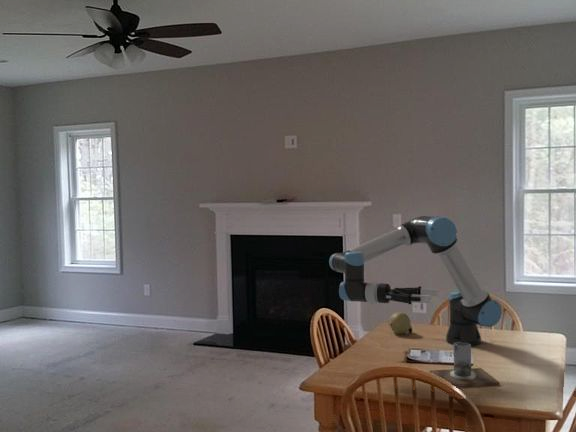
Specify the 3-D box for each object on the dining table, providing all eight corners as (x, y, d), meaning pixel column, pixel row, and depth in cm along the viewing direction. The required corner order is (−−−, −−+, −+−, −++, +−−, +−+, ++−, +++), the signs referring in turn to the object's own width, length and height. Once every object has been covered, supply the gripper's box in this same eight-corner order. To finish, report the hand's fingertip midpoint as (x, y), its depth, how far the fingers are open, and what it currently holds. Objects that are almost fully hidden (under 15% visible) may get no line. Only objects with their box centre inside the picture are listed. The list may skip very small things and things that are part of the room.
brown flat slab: (480, 371, 209) (480, 365, 209) (499, 385, 193) (499, 379, 193) (429, 373, 208) (429, 368, 208) (443, 388, 192) (443, 382, 192)
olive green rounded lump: (402, 343, 264) (419, 328, 262) (385, 325, 264) (401, 310, 262) (399, 337, 273) (415, 323, 272) (383, 319, 273) (399, 305, 272)
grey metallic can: (467, 370, 204) (467, 340, 203) (473, 376, 198) (473, 344, 197) (451, 371, 203) (451, 341, 203) (457, 376, 197) (457, 345, 197)
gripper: (388, 296, 225) (441, 299, 215) (368, 309, 202) (426, 313, 193) (387, 278, 224) (440, 280, 215) (368, 288, 202) (426, 291, 193)
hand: (434, 296), depth 204 cm, fingers open, 13 cm apart
